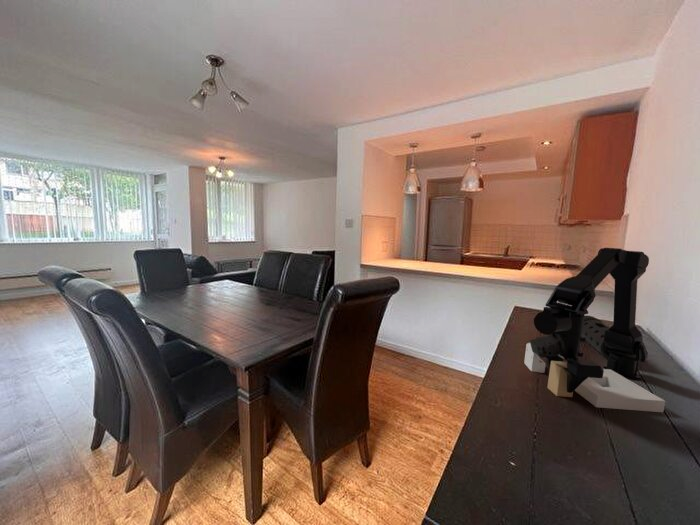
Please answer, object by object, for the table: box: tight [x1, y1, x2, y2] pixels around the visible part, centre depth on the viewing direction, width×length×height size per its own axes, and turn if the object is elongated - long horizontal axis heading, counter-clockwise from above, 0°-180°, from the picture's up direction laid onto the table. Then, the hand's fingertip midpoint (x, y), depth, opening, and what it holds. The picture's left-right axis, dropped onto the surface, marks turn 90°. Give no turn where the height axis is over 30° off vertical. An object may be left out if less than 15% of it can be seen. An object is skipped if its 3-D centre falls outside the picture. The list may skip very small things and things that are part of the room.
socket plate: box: [574, 368, 666, 413], centre depth 79 cm, size 16×16×3 cm
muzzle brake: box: [582, 315, 610, 360], centre depth 109 cm, size 10×28×10 cm, turn 158°
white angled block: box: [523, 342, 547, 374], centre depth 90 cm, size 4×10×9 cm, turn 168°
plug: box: [547, 360, 574, 398], centre depth 77 cm, size 4×4×8 cm
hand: (560, 385), depth 77 cm, fingers open, 7 cm apart
